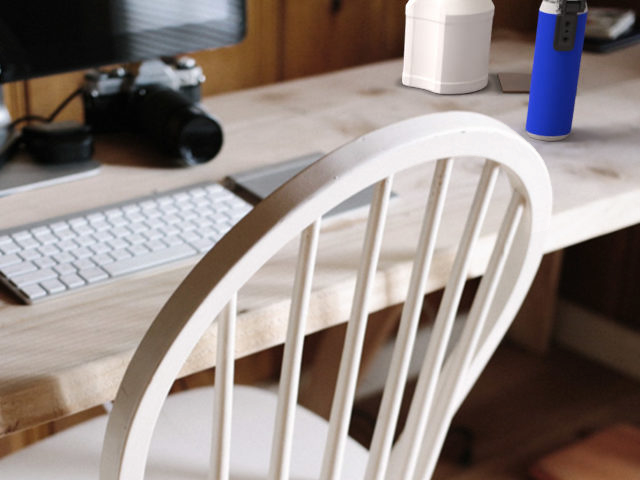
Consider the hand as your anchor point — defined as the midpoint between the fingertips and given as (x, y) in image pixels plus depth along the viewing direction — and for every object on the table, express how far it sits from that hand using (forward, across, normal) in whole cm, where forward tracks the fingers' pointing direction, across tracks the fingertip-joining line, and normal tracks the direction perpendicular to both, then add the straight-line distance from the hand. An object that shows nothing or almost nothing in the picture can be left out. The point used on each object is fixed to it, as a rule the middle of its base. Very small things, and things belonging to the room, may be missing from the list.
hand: (559, 43), depth 115 cm
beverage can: (+11, 0, 0) cm, 11 cm away
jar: (+11, -22, -11) cm, 27 cm away
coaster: (+10, -22, +1) cm, 25 cm away
